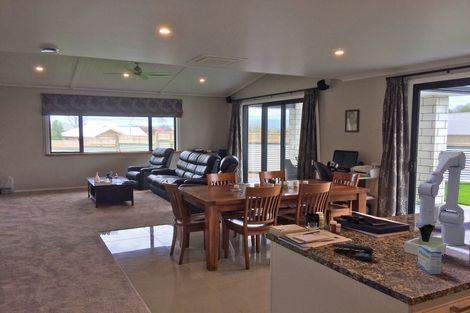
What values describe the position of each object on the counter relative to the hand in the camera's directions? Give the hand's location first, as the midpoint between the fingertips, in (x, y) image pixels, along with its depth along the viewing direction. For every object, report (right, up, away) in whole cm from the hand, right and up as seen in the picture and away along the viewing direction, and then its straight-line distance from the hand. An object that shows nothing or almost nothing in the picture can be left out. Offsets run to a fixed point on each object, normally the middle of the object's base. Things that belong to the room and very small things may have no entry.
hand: (425, 241), depth 158 cm
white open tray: (0, -5, 0) cm, 5 cm away
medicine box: (-9, -7, -20) cm, 23 cm away
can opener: (-33, -6, -4) cm, 34 cm away
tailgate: (+4, -3, +4) cm, 6 cm away
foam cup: (+24, -3, +42) cm, 49 cm away
